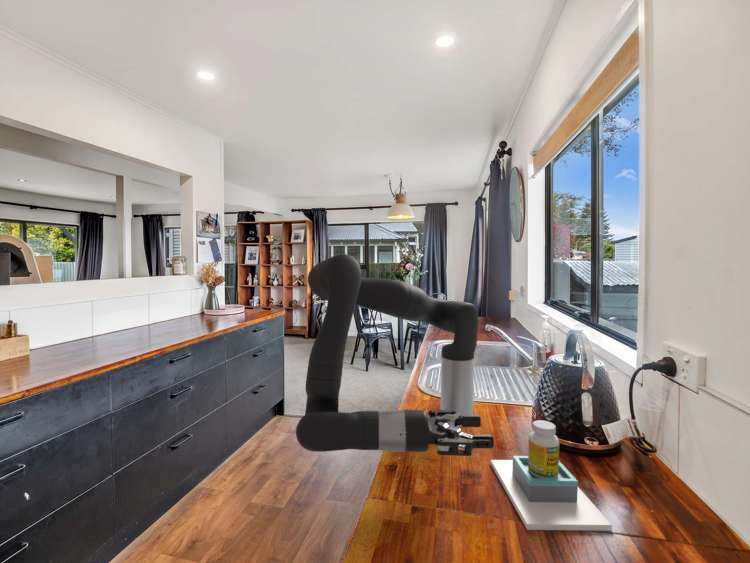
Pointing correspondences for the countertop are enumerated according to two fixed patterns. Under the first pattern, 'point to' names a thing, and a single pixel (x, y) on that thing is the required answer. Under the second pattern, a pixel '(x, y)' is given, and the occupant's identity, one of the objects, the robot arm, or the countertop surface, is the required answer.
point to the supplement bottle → (543, 450)
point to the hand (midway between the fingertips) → (486, 430)
